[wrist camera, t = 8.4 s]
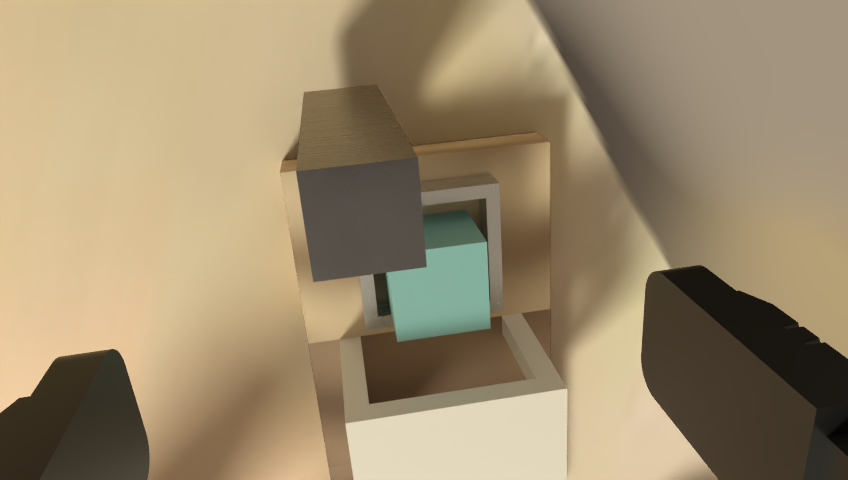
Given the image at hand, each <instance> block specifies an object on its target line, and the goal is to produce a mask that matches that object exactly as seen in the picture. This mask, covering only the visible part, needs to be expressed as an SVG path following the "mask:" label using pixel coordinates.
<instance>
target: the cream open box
mask: <svg viewBox="0 0 848 480" xmlns="http://www.w3.org/2000/svg"><path fill="white" fill-rule="evenodd" d="M502 334H503V336H504V338H505V340H506V341H507V343H508V345H509V347H510V349H511V351H512V353H513V355H514V357H515V359H516V361H517V362H518V364H519V366H520V368H521V370H522V372H523V374H524V376H525V378H526V380H522V381H515V382H509V383H503V384H496V385H490V386H483V387H477V388H471V389H464V390H458V391H451V392H445V393H438V394H432V395H426V396H419V397H413V398H406V399H400V400H393V401H387V402H381V403H374V404H369V398H368V391H367V383H366V375H365V368H364V360H363V352H362V344H361V337H360V336H359V337H352V338H345V339H340V352H341V367H342V382H343V397H344V412H345V425H346V432H347V439H348V445H349V452H350V459H351V466H352V472H353V479H354V480H567V391H568V388H567V387H566V385H565V383H564V382H563V380H562V379H561V377H560V375H559V374H558V372H557V370H556V369H555V367H554V366H553V364H552V362H551V361H550V359H549V357H548V356H547V354H546V353H545V351H544V349H543V348H542V346H541V344H540V343H539V341H538V339H537V338H536V336H535V335H534V333H533V331H532V330H531V328H530V326H529V325H528V323H527V322H526V320H525V318H524V317H523V315H522V313H518V314H512V315H505V316H502Z"/></svg>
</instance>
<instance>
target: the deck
mask: <svg viewBox="0 0 848 480" xmlns="http://www.w3.org/2000/svg"><path fill="white" fill-rule="evenodd" d="M412 148H413V150H414V151H415V153H416V155H417V157H418V164H419V176H420V182H423V181H432V180H440V179H449V178H457V177H466V176H474V175H482V174H492V175H493V177H494V178H495V179H496V180H497V181H498V182H499V188H500V218H501V248H502V278H503V308H504V311H498V312H491V313H490V327H491V328H490V329H483V330H476V331H470V332H463V333H456V334H449V335H442V336H435V337H428V338H422V339H415V340H408V341H401V342H397V338H396V334H395V329H394V326H393V327H386V328H379V329H372V330H366V325H365V318H364V310H363V302H362V294H361V286H360V278H359V276H357V277H349V278H342V279H334V280H327V281H319V282H313V278H312V272H311V265H310V259H309V252H308V246H307V239H306V233H305V227H304V220H303V214H302V207H301V201H300V194H299V188H298V182H297V175H296V165H297V159H294V160H285V161H282V164H281V170H280V176H281V182H282V188H283V194H284V200H285V206H286V212H287V218H288V224H289V230H290V236H291V242H292V248H293V254H294V260H295V267H296V273H297V279H298V285H299V291H300V297H301V303H302V309H303V315H304V321H305V327H306V333H307V339H308V345H309V351H310V357H311V363H312V369H313V375H314V381H315V387H316V393H317V399H318V405H319V412H320V418H321V424H322V430H323V436H324V442H325V448H326V454H327V460H328V466H329V472H330V478H331V480H354V479H353V472H352V466H351V459H350V452H349V445H348V439H347V432H346V425H345V412H344V397H343V382H342V367H341V352H340V339H345V338H352V337H359V336H360V337H361V344H362V352H363V360H364V368H365V375H366V383H367V391H368V398H369V404H374V403H381V402H387V401H393V400H400V399H406V398H413V397H419V396H426V395H432V394H438V393H445V392H451V391H458V390H464V389H471V388H477V387H483V386H490V385H496V384H503V383H509V382H515V381H522V380H526V378H525V376H524V374H523V372H522V370H521V368H520V366H519V364H518V362H517V361H516V359H515V357H514V355H513V353H512V351H511V349H510V347H509V345H508V343H507V341H506V340H505V338H504V336H503V334H502V316H505V315H512V314H518V313H522V315H523V317H524V318H525V320H526V322H527V323H528V325H529V326H530V328H531V330H532V331H533V333H534V335H535V336H536V338H537V339H538V341H539V343H540V344H541V346H542V348H543V349H544V351H545V353H546V354H547V356H548V357H549V359H550V361H551V309H550V141H548V140H547V139H545V138H544V137H542V136H541V135H540V134H538V133H537V132H534V133H525V134H516V135H508V136H499V137H490V138H481V139H472V140H463V141H454V142H445V143H436V144H427V145H419V146H412ZM458 210H467V212H468V213H469V215H470V216H471V218H472V220H473V221H474V223H475V224H476V226H477V227H478V229H479V230H480V214H479V199H474V200H466V201H458V202H450V203H442V204H434V205H425V206H422V213H423V215H426V214H434V213H442V212H450V211H458ZM373 277H374V286H375V294H376V302H377V301H384V300H388V297H387V288H386V279H385V273H379V274H373Z"/></svg>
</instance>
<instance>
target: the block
mask: <svg viewBox="0 0 848 480" xmlns="http://www.w3.org/2000/svg"><path fill="white" fill-rule="evenodd" d="M423 225H424V238H425V250H426V262H427V267H424V268H417V269H409V270H402V271H394V272H387V273H385V279H386V288H387V297H388V302H389V307H390V311H391V316H392V320H393V325H394V329H395V334H396V338H397V342H401V341H408V340H415V339H422V338H428V337H435V336H442V335H449V334H456V333H463V332H470V331H476V330H483V329H490V328H491V327H490V303H489V279H488V256H487V241H486V240H485V238H484V237H483V235H482V233H481V232H480V230H479V229H478V227H477V226H476V224H475V223H474V221H473V220H472V218H471V216H470V215H469V213H468V212H467V210H458V211H450V212H442V213H434V214H426V215H423Z"/></svg>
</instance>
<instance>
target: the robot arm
mask: <svg viewBox="0 0 848 480" xmlns="http://www.w3.org/2000/svg"><path fill="white" fill-rule="evenodd" d="M641 363H642V370H643V375H644V378H645V382H646V384H647V387H648V389H649V391H650V393H651V395H652V396H653V397H654V399H655V400H656V401H657V403H658V404H659V405H660V406H661V408H662V409H663V410H664V411H665V413H666V414H667V415H668V416H669V418H670V419H671V420H672V421H673V423H674V424H675V425H676V426H677V428H678V429H679V430H680V431H681V433H682V434H683V435H684V437H685V438H686V439H687V440H688V442H689V443H690V444H691V445H692V447H693V448H694V449H695V450H696V452H697V453H698V454H699V455H700V457H701V458H702V459H703V460H704V462H705V463H706V464H707V465H708V467H709V468H710V469H711V470H712V472H713V473H714V474H715V475H716V477H717V478H718V479H719V480H848V359H847V358H846V357H844V356H843V355H842V354H840V353H839V352H838V351H836V350H835V349H833V348H832V347H831V346H829V345H828V344H827V343H825V342H824V343H821V342H820V340H819V338H818V337H817V336H816V335H814V334H813V333H812V332H810V331H809V330H807V329H806V328H805V327H799V325H798V322H796V321H795V320H794V319H792V318H791V317H790V316H788V315H787V314H785V313H784V312H783V311H781V310H780V309H778V308H777V307H776V306H774V305H773V304H771V303H768V302H766V301H763V300H761V299H758V298H756V297H754V296H751V295H748V294H746V293H744V292H741V291H736V290H734V289H733V288H732V287H730V286H729V285H728V284H726V283H725V282H724V281H722V280H721V279H720V278H719V277H717V276H716V275H715V274H713V273H712V272H711V271H709V270H708V269H707V268H705V267H704V266H701V265H697V266H691V267H683V268H676V269H669V270H662V271H656V272H652V273H651V274H650V275H649V277H648V279H647V283H646V289H645V304H644V320H643V336H642V352H641ZM148 472H149V445H148V439H147V435H146V431H145V428H144V425H143V422H142V418H141V415H140V412H139V408H138V405H137V402H136V399H135V395H134V392H133V389H132V385H131V382H130V379H129V376H128V372H127V369H126V366H125V363H124V360H123V358H122V356H121V355H120V353H119V352H118V351H117V350H115V349H110V350H103V351H96V352H90V353H83V354H76V355H69V356H62V357H58V358H57V359H55V360H54V361H53V363H52V364H51V366H50V367H49V369H48V370H47V372H46V373H45V375H44V376H43V378H42V379H41V381H40V382H39V384H38V386H37V387H36V389H35V390H34V392H33V393H32V395H31V396H30V397H23V398H19V399H17V400H16V401H15V402H14V403H12V404H11V405H10V406H9V407H7V408H6V409H5V410H4V411H2V412H1V413H0V480H147V478H148Z"/></svg>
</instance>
